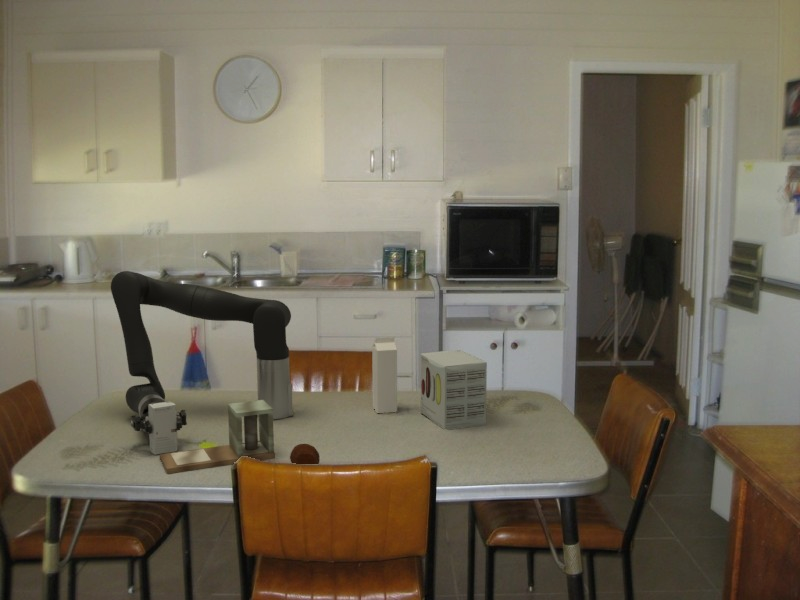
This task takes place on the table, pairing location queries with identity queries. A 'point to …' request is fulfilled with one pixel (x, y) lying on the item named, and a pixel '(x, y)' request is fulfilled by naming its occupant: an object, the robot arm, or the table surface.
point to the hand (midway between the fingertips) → (164, 428)
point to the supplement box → (453, 389)
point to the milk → (384, 375)
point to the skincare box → (163, 427)
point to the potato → (304, 454)
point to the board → (231, 440)
